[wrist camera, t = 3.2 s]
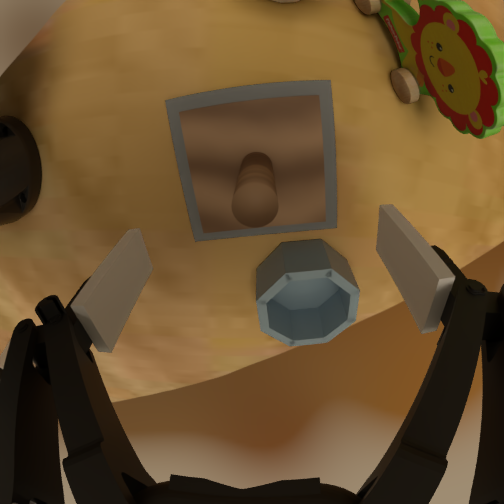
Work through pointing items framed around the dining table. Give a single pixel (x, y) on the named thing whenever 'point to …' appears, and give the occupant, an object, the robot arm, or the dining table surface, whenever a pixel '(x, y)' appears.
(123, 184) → the dining table surface
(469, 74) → the toy lion
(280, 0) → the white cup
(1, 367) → the jar
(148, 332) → the dining table surface
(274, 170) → the lid
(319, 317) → the bowl
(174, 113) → the mat
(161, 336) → the dining table surface
